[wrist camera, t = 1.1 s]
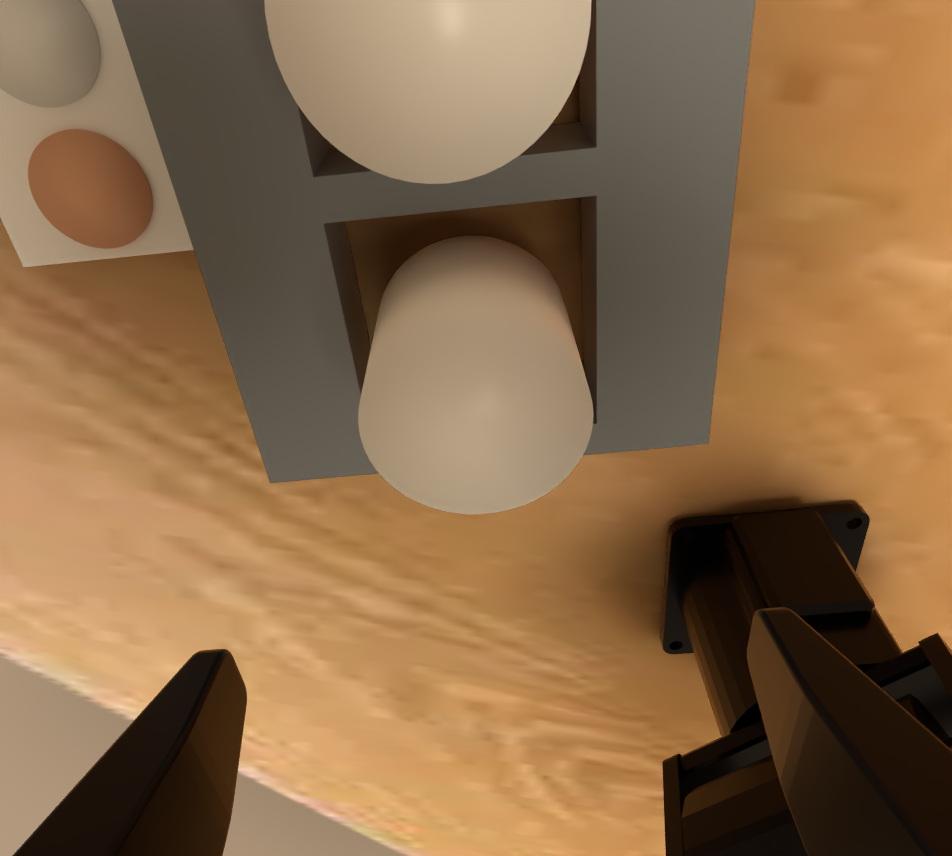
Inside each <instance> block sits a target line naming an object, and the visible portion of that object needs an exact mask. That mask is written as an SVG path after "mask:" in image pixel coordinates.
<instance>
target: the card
mask: <svg viewBox="0 0 952 856" xmlns="http://www.w3.org/2000/svg"><path fill="white" fill-rule="evenodd" d="M0 218H1V220H2V223H3V225H4V227H5V229H6V231H7V233H8V235H9V237H10V239H11V242H12V244H13V246H14V248H15V250H16V252H17V254H18V256H19V258H20V261H21V263H22V265H23V267H32V266H41V265H51V264H61V263H71V262H81V261H91V260H101V259H110V258H120V257H130V256H140V255H150V254H160V253H170V252H179V251H189V250H194V249H193V246H192V243H191V240H190V237H189V234H188V231H187V228H186V225H185V222H184V219H183V216H182V213H181V210H180V207H179V204H178V201H177V198H176V194H175V191H174V188H173V185H172V182H171V179H170V176H169V173H168V170H167V167H166V164H165V161H164V158H163V155H162V152H161V149H160V146H159V143H158V140H157V137H156V134H155V131H154V127H153V124H152V121H151V118H150V115H149V112H148V109H147V106H146V103H145V100H144V97H143V94H142V91H141V88H140V85H139V82H138V79H137V76H136V73H135V70H134V67H133V63H132V60H131V57H130V54H129V51H128V48H127V45H126V42H125V39H124V36H123V33H122V30H121V27H120V24H119V21H118V18H117V15H116V12H115V9H114V6H113V3H112V0H0Z"/></svg>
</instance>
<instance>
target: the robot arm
mask: <svg viewBox="0 0 952 856" xmlns="http://www.w3.org/2000/svg"><path fill="white" fill-rule="evenodd" d="M852 518H854V519H852ZM850 519H852V520H850ZM849 520H850V521H849ZM868 526H869V516H868V515H867V514H866V512H865V511H864V509H863V508H862V506H859V505H857V504H846V505H834V506H823V507H811V508H799V509H788V510H776V511H764V512H753V513H741V514H729V515H718V516H706V517H694V518H683V519H679V520H677V521H675V522H673V523H672V524H671V525H670V526H669V529H668V538H667V552H666V566H665V580H664V593H663V607H662V621H661V634H660V639H661V643H662V647H663V650H664V651H665V652H666V653H669V654H683V653H694V654H695V657H696V660H697V663H698V666H699V669H700V672H701V676H702V679H703V682H704V685H705V688H706V691H707V694H708V697H709V700H710V703H711V706H712V709H713V712H714V715H715V718H716V721H717V724H718V727H719V730H720V733H721V736H722V737H721V738H719V739H717V740H714V741H712V742H710V743H708V744H706V745H704V746H702V747H699V748H697V749H695V750H693V751H691V752H689V753H687V754H684V755H680V754H677V755H675V756H672V757H670V758H668V759H666V760H664V761H663V788H664V816H665V843H666V856H952V650H951V649H950V648H949V647H948V645H947V644H946V643H945V642H944V640H943V639H942V638H941V637H940V635H939V634H938V633H936V634H934V635H932V636H929V637H927V638H925V639H923V640H921V641H919V642H918V643H919V644H920V645H919V646H917V647H915V648H912V649H910V650H908V651H906V652H904V653H903V652H902V650H901V649H900V647H899V646H898V644H897V642H896V641H895V639H894V637H893V636H892V634H891V633H890V631H889V629H888V628H887V626H886V624H885V623H884V621H883V620H882V618H881V616H880V615H879V613H878V612H877V610H876V608H875V604H874V601H873V599H872V598H871V596H870V594H869V593H868V591H867V590H866V588H865V586H864V585H863V583H862V582H861V580H860V578H859V577H858V575H857V574H856V568H857V565H858V561H859V557H860V554H861V550H862V547H863V543H864V540H865V536H866V533H867V529H868ZM685 532H689V533H687V534H685V535H681V534H682V533H685ZM246 705H247V692H246V687H245V684H244V682H243V679H242V677H241V675H240V672H239V670H238V667H237V665H236V663H235V660H234V658H233V656H232V654H231V652H229V651H228V650H226V649H215V650H203V651H199V652H197V653H195V654H194V655H193V656H192V657H191V658H190V659H189V660H188V661H187V662H186V663H185V665H184V666H183V667H182V668H181V669H180V670H179V671H178V672H177V673H176V675H175V676H174V677H173V678H172V679H171V680H170V681H169V682H168V683H167V685H166V686H165V687H164V688H163V689H162V690H161V691H160V692H159V693H158V695H157V696H156V697H155V698H154V699H153V700H152V701H151V702H150V703H149V705H148V706H147V707H146V708H145V709H144V710H143V711H142V712H141V713H140V715H139V716H138V717H137V718H136V719H135V720H134V721H133V722H132V723H131V725H130V726H129V727H128V728H127V729H126V730H125V731H124V732H123V733H122V735H121V736H120V737H119V738H118V739H117V740H116V741H115V743H113V745H112V746H111V747H110V748H109V749H108V750H107V752H105V754H104V755H103V756H102V757H101V758H100V759H99V760H98V761H97V762H96V764H95V765H94V766H93V767H92V768H91V769H90V770H89V771H88V772H87V773H86V775H85V776H84V777H83V778H82V779H81V780H80V781H79V782H78V784H77V785H76V786H75V787H74V788H73V789H72V790H71V791H70V792H69V794H68V795H67V796H66V797H65V798H64V799H63V800H62V801H61V802H60V804H59V805H58V806H57V807H56V808H55V809H54V810H53V811H52V813H51V814H50V815H49V816H48V817H47V818H46V819H45V820H44V821H43V822H42V824H41V825H40V826H39V827H38V828H37V829H36V830H35V831H34V832H33V834H32V835H31V836H30V837H29V838H28V839H27V840H26V841H25V843H24V844H23V845H22V846H21V847H20V848H19V849H18V850H17V851H16V853H15V854H14V855H13V856H222V855H223V851H224V847H225V842H226V838H227V834H228V829H229V824H230V820H231V815H232V808H233V802H234V795H235V788H236V780H237V773H238V765H239V758H240V750H241V743H242V735H243V728H244V720H245V713H246Z"/></svg>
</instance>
